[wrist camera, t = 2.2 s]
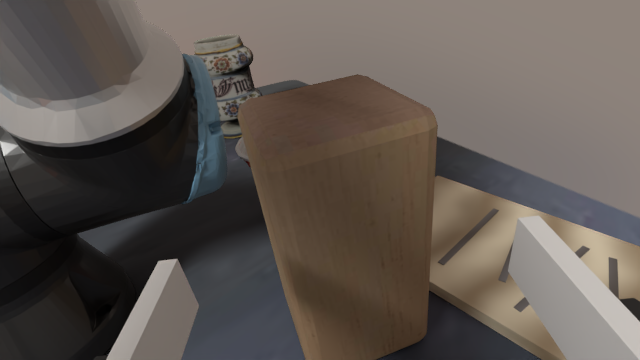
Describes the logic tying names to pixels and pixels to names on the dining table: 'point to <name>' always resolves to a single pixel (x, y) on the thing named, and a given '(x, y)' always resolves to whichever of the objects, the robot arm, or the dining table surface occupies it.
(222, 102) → the apothecary jar
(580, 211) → the dining table surface
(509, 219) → the board
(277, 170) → the wooden block
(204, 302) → the dining table surface
